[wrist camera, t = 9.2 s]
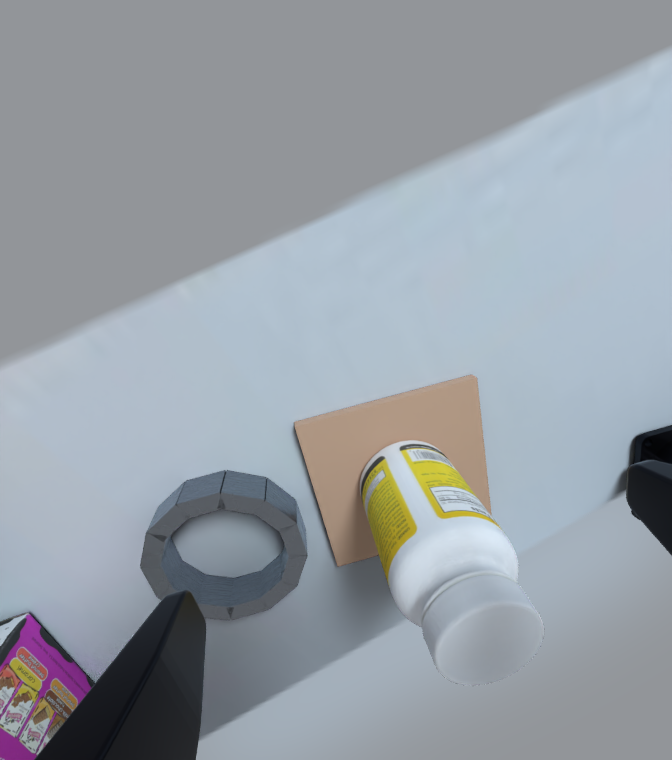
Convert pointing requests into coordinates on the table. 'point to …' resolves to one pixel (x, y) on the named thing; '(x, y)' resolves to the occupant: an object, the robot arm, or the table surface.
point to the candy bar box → (34, 687)
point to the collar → (213, 591)
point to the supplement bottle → (449, 565)
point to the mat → (378, 430)
